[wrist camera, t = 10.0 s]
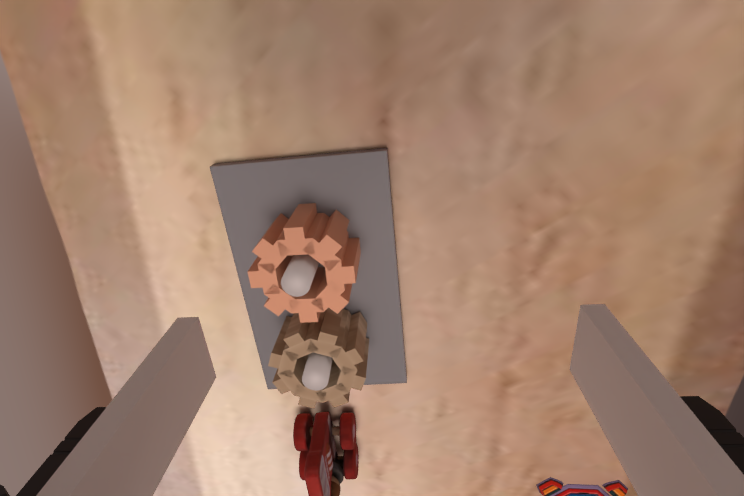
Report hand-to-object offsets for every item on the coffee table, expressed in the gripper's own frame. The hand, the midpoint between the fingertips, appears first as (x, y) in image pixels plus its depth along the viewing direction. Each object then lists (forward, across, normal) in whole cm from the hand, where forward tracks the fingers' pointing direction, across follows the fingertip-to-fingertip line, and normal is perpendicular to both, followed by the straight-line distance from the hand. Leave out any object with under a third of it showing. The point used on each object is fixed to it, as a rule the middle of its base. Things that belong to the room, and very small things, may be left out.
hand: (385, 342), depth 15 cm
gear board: (+26, -8, -12) cm, 29 cm away
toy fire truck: (+26, -9, -34) cm, 44 cm away
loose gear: (+24, -8, -8) cm, 27 cm away
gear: (+24, -8, -18) cm, 31 cm away
